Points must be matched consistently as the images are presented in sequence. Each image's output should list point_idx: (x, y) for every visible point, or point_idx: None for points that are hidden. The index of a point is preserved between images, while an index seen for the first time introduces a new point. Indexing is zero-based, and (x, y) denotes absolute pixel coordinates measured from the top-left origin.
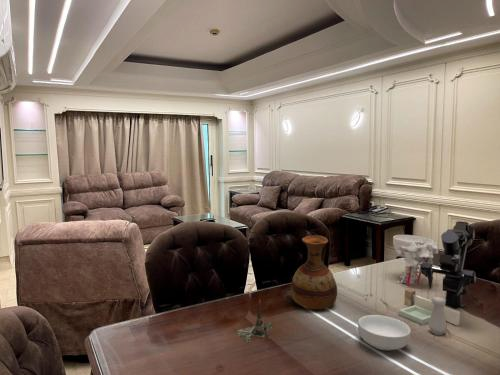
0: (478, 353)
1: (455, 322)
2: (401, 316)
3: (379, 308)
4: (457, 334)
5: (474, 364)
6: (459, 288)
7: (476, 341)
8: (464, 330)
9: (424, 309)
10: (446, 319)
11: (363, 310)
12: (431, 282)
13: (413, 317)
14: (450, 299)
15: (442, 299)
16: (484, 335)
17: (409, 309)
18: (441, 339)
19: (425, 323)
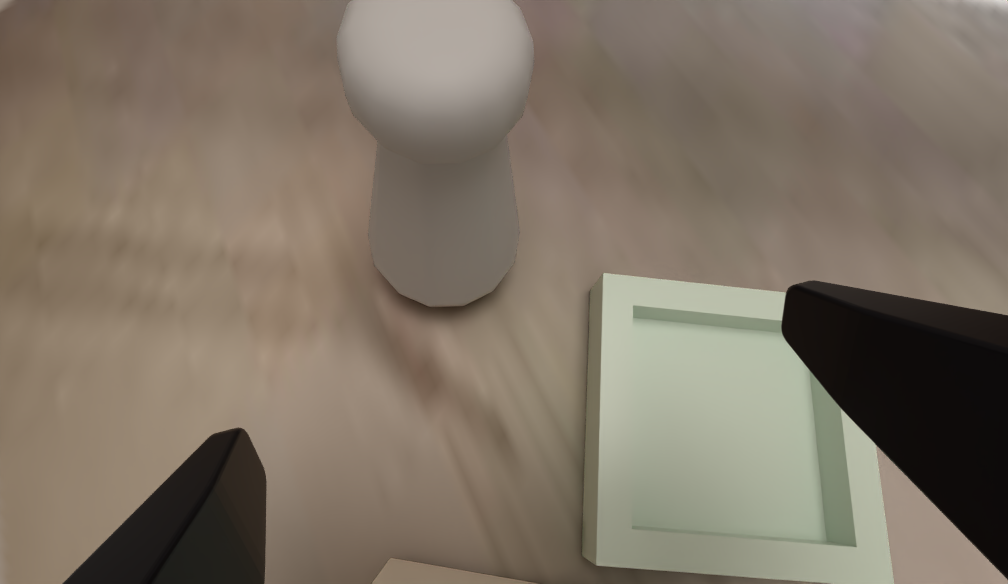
0: (92, 173)
1: (401, 564)
2: None
3: None
4: (316, 368)
5: (85, 16)
6: (112, 557)
7: (148, 367)
8: (299, 520)
9: (757, 558)
10: (507, 581)
11: (1003, 173)
12: (952, 389)
13: (692, 287)
14: None
15: (371, 11)
16: None
17: (836, 431)
18: (371, 175)
19: (590, 333)
